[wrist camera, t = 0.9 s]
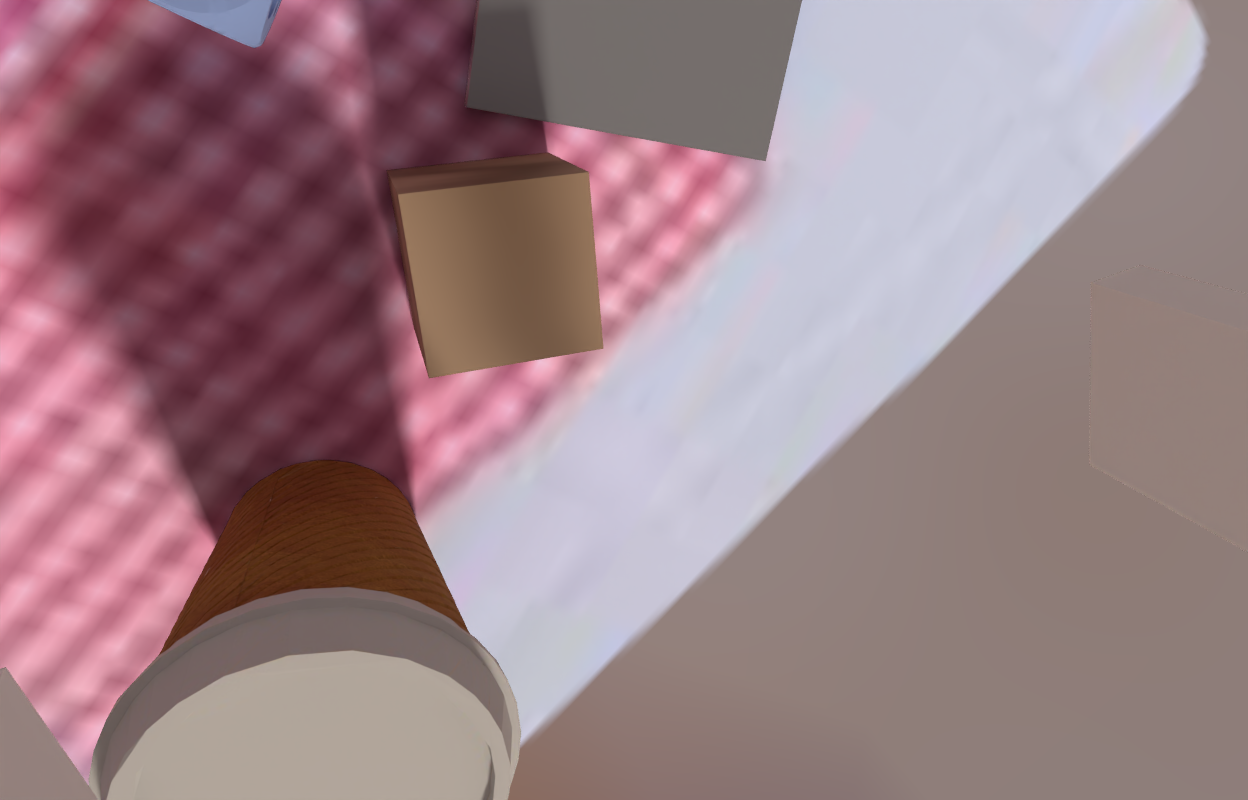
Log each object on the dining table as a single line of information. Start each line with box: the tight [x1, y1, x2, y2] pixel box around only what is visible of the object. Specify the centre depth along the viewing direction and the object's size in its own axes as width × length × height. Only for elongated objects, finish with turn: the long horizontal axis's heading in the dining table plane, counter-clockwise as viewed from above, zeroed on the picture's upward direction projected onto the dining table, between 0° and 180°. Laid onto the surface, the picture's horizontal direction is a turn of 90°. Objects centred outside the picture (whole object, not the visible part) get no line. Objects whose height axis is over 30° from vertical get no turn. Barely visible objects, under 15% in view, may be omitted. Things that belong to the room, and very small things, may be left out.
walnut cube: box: [387, 153, 603, 378], centre depth 26 cm, size 5×5×5 cm
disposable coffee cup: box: [89, 460, 521, 800], centre depth 25 cm, size 10×10×12 cm
